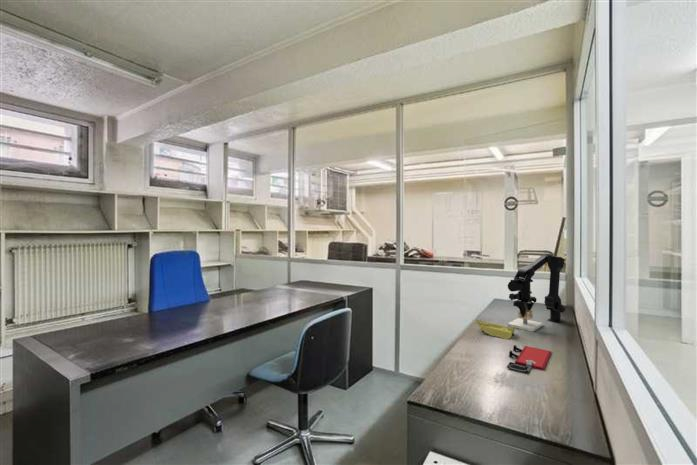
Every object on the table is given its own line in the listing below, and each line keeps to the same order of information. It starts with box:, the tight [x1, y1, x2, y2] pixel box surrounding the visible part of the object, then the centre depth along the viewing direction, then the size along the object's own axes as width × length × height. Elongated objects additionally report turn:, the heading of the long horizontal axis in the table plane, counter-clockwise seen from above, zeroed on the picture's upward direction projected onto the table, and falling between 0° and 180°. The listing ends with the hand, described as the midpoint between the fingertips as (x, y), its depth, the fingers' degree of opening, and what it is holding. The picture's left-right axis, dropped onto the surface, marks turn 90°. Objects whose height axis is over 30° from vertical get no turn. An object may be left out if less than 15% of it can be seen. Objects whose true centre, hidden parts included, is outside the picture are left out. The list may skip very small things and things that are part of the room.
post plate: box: [507, 317, 544, 332], centre depth 199 cm, size 15×14×8 cm
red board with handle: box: [506, 345, 552, 374], centre depth 153 cm, size 30×3×15 cm
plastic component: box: [475, 318, 516, 340], centre depth 189 cm, size 20×7×10 cm
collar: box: [517, 309, 534, 320], centre depth 199 cm, size 6×6×4 cm
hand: (525, 315), depth 199 cm, fingers closed on collar, 6 cm apart
